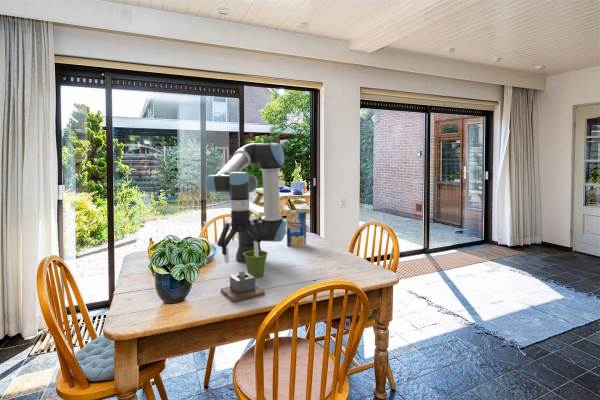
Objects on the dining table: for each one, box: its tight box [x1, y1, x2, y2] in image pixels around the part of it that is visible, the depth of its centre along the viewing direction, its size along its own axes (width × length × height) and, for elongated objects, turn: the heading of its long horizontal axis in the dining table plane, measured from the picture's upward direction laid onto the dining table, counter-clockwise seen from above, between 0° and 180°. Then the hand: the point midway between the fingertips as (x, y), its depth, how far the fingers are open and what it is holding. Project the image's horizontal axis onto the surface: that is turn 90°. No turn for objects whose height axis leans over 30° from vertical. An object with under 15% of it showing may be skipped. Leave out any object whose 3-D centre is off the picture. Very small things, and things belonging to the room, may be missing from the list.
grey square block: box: [229, 271, 256, 295], centre depth 152 cm, size 8×8×6 cm
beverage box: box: [286, 210, 307, 248], centre depth 231 cm, size 7×11×22 cm, turn 73°
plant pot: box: [243, 249, 269, 279], centre depth 175 cm, size 12×12×11 cm
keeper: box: [220, 270, 266, 304], centre depth 152 cm, size 14×14×10 cm
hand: (241, 259), depth 151 cm, fingers open, 13 cm apart
